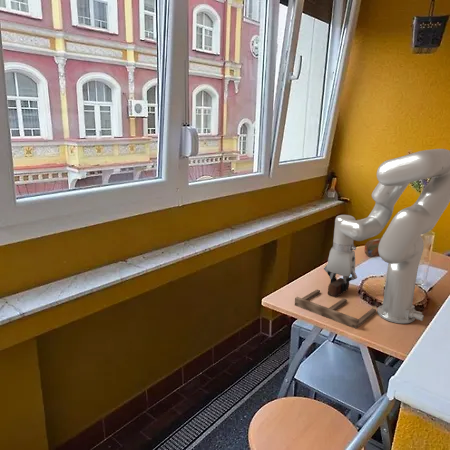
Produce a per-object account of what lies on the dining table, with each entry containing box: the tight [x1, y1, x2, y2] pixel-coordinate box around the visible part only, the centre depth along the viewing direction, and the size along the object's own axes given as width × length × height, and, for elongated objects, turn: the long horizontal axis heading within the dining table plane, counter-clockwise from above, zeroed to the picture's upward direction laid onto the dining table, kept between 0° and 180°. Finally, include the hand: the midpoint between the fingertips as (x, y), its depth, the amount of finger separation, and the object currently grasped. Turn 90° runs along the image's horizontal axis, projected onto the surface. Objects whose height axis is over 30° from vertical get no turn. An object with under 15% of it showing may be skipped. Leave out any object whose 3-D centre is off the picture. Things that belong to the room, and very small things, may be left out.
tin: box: [364, 237, 382, 258], centre depth 204 cm, size 15×3×8 cm, turn 119°
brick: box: [327, 277, 350, 298], centre depth 162 cm, size 11×4×5 cm, turn 137°
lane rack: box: [294, 289, 377, 330], centre depth 148 cm, size 24×16×3 cm, turn 47°
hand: (338, 289), depth 162 cm, fingers closed on brick, 4 cm apart
